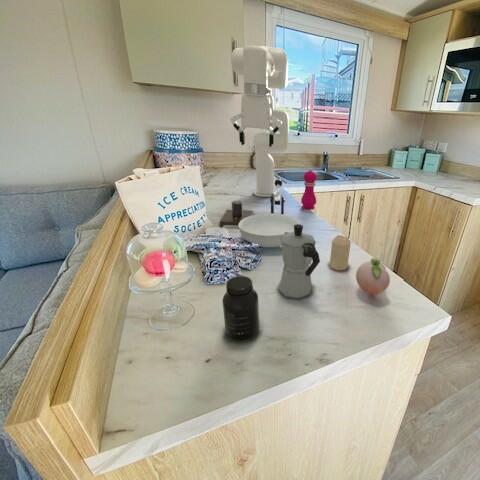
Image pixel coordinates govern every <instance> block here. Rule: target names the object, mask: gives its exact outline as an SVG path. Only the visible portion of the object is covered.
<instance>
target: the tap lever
mask: <svg viewBox="0 0 480 480" xmlns="http://www.w3.org/2000/svg"><path fill="white" fill-rule="evenodd" d="M282 186H283V181H282V180H281V179H275V180H274V187H276V192H277V193H276V195H275V196H274V206H281V195H280V190H281V189H280V188H281V187H282Z"/></svg>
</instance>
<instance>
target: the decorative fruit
mask: <svg viewBox="0 0 480 480" xmlns="http://www.w3.org/2000/svg"><path fill="white" fill-rule="evenodd" d="M355 280H356V283H357V285H358V287H359V288H360V290H362V291H364V292H365V293H366V294H368V295H379V294H381V293H383V292H384V291H386V290H387V289H388V287H389V286H390V282H391V277H390V274H389V272H388V270H387V269H386V266H385V265H384V264H383V263H381V261H380V259H378V258H375V257H371V259H370V260H368V261H366V262H363V263H361V264H360V265H359V266H358V268H357V270H356V274H355Z"/></svg>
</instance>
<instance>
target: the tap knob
mask: <svg viewBox="0 0 480 480" xmlns="http://www.w3.org/2000/svg"><path fill="white" fill-rule="evenodd" d="M231 210H232V216H233V217H242V216H243V213H242V210H243V202H242V200H241V201H239V200H233V201H231Z"/></svg>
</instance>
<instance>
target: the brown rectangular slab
mask: <svg viewBox="0 0 480 480" xmlns="http://www.w3.org/2000/svg"><path fill="white" fill-rule="evenodd" d="M242 213H243V216H242V217H233V216H232V209H226V210H225V212H224V213H223V215H222V217H221V218H220V220H219V228H220V227H222V228H223V227H224V226H238V225H239V222H240V221H241V220H242V219H244V218H246V217H249V216H252V215H254V210H251V209H250V210H249V209H247V210H245V209H242Z"/></svg>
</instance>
